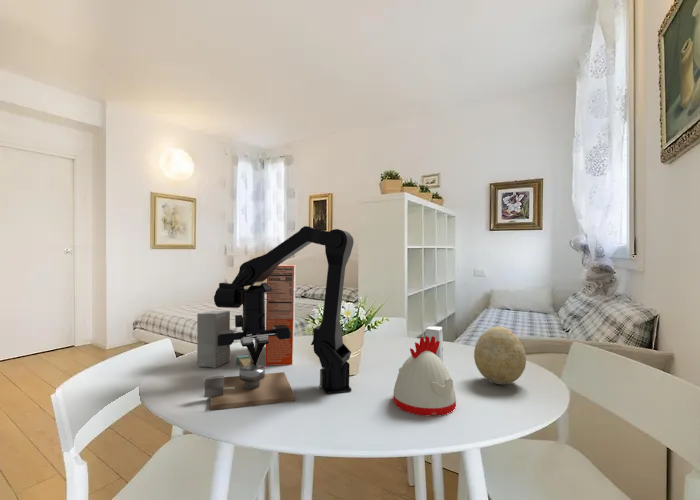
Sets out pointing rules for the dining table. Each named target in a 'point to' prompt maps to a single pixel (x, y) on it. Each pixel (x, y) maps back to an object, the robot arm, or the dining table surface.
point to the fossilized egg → (500, 355)
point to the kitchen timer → (424, 382)
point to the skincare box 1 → (212, 338)
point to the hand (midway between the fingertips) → (254, 366)
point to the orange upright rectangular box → (281, 314)
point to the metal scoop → (249, 369)
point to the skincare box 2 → (436, 338)
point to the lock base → (247, 391)
